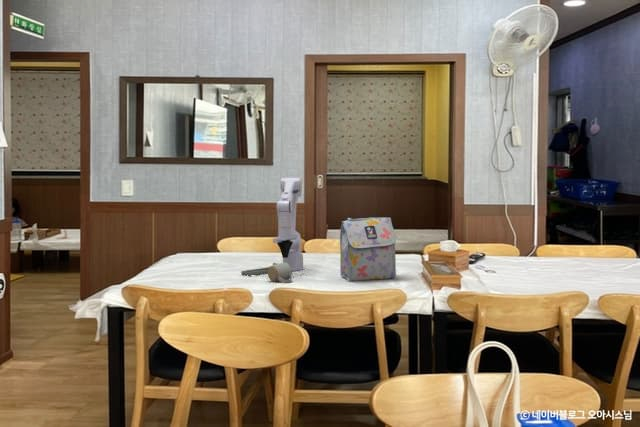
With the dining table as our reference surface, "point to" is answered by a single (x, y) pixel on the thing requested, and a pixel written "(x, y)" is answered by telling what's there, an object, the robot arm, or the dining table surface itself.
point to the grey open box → (255, 271)
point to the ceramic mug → (280, 273)
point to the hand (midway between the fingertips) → (285, 257)
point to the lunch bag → (367, 249)
